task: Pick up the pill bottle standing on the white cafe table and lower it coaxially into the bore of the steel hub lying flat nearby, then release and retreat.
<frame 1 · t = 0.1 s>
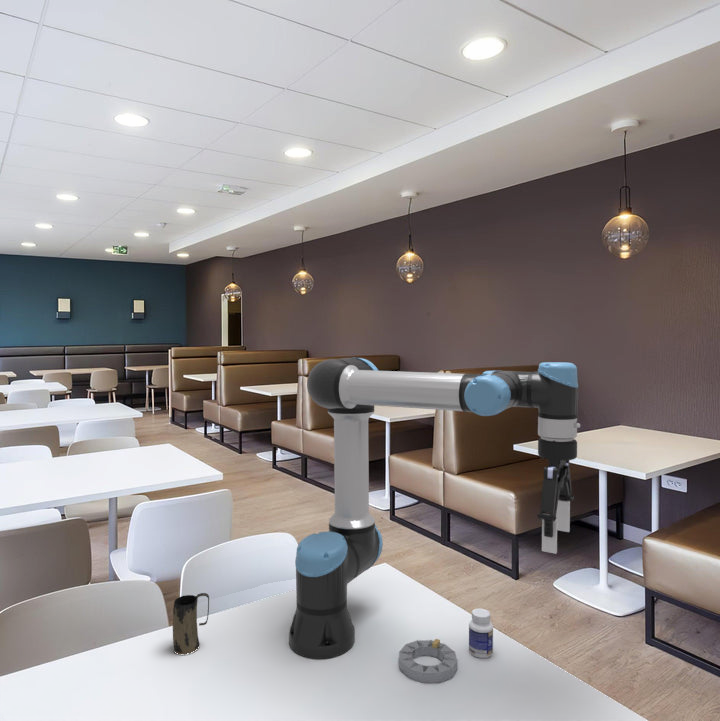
hand: (556, 540, 112), 28 cm above the table, fingers open, 13 cm apart
hub: (427, 665, 117), on the table
mug: (191, 648, 123), on the table
pill bottle: (480, 652, 121), on the table
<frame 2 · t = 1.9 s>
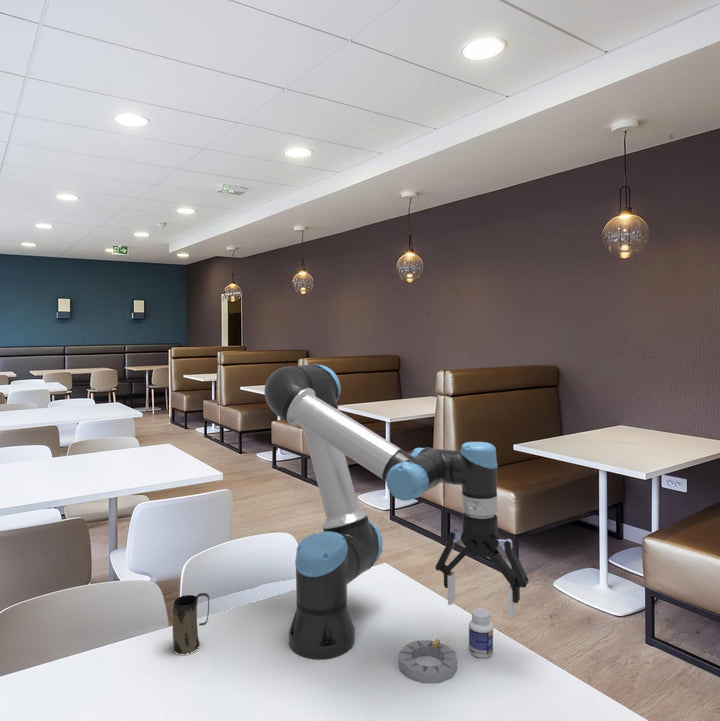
hand: (481, 609, 121), 10 cm above the table, fingers open, 13 cm apart
nothing on the table moved.
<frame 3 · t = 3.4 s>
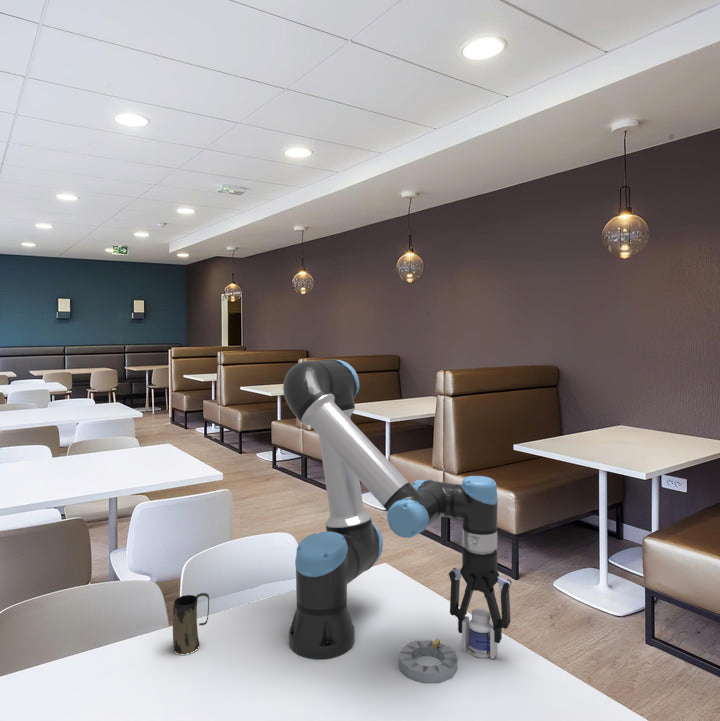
hand: (479, 651, 121), 0 cm above the table, fingers open, 6 cm apart
pill bottle: (480, 652, 121), on the table, touching gripper
everything else where it was.
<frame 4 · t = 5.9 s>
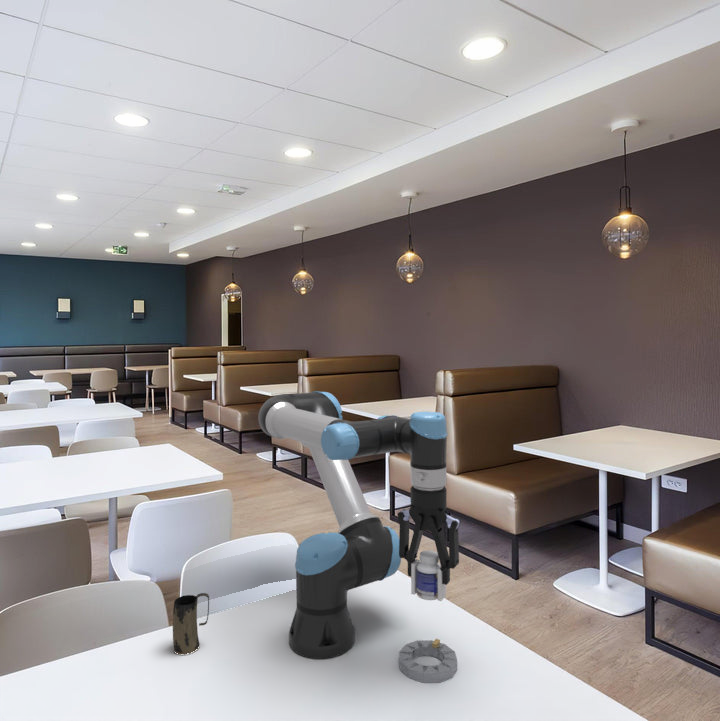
hand: (428, 594, 116), 15 cm above the table, fingers closed on pill bottle, 5 cm apart
pill bottle: (429, 596, 116), point 15 cm above the table, touching gripper
everything else where it was.
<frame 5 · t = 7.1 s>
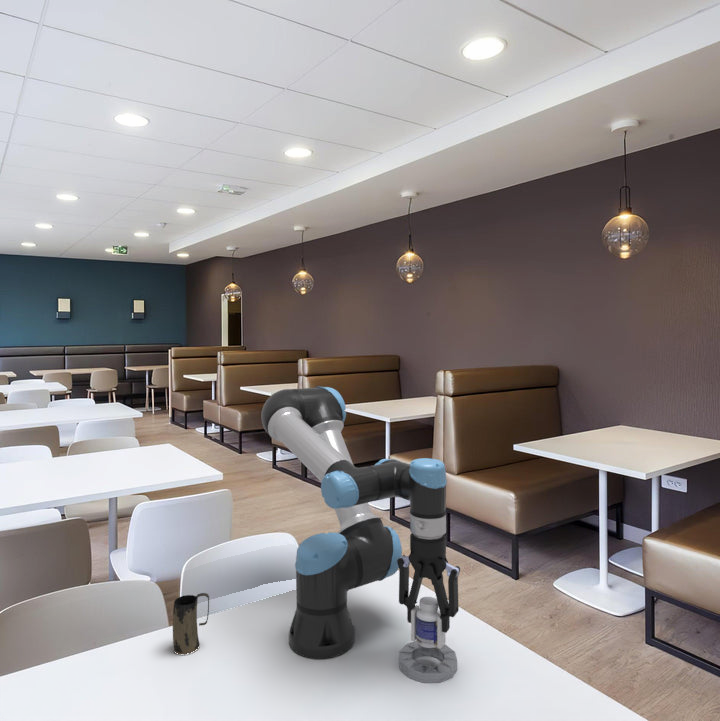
hand: (428, 641, 116), 5 cm above the table, fingers closed on pill bottle, 5 cm apart
pill bottle: (428, 642, 117), point 5 cm above the table, touching gripper
everything else where it was.
when the fingers open (3 cm above the table, at t = 7.8 s): pill bottle drops 3 cm, resting in hub.
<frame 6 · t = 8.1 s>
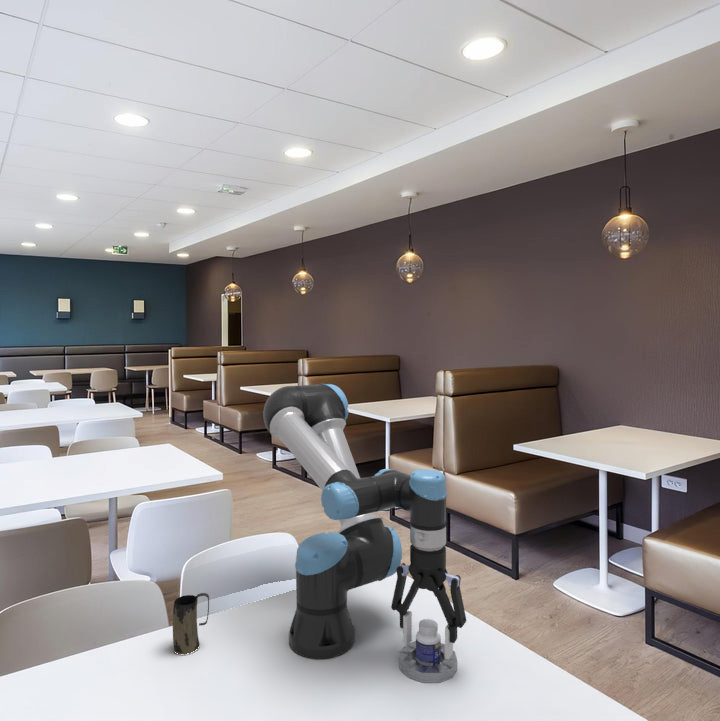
hand: (427, 649, 116), 3 cm above the table, fingers open, 9 cm apart
pill bottle: (428, 665, 117), resting in hub
everything else where it was.
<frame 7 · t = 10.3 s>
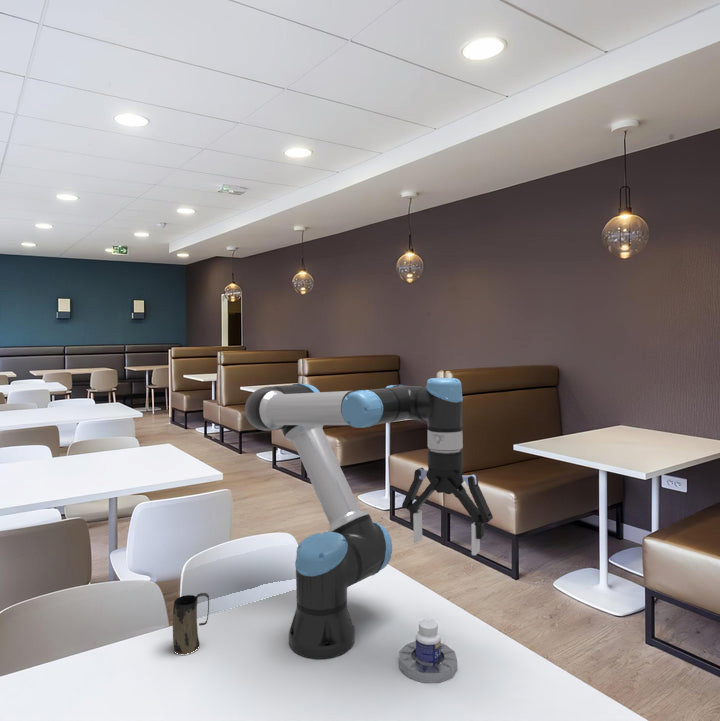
hand: (446, 547, 119), 24 cm above the table, fingers open, 13 cm apart
nothing on the table moved.
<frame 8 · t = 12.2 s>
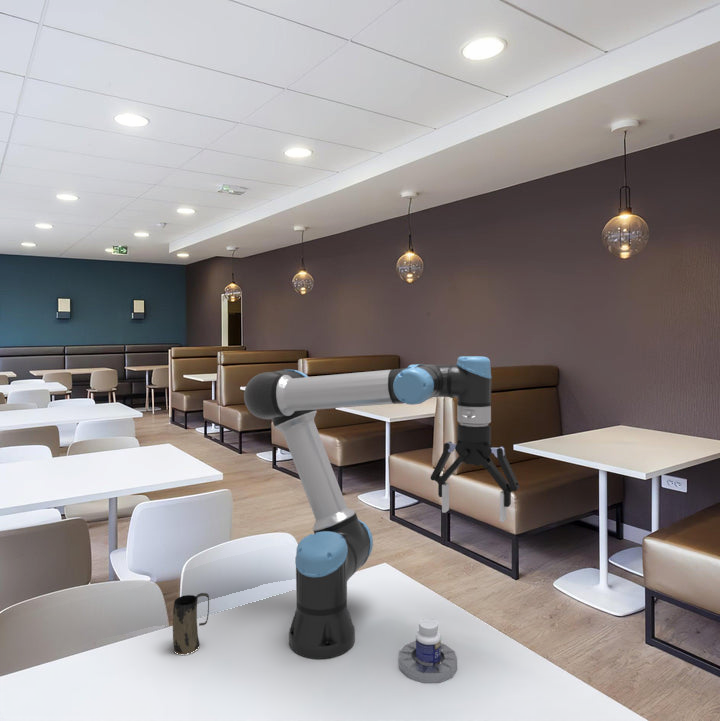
hand: (473, 515, 126), 29 cm above the table, fingers open, 13 cm apart
nothing on the table moved.
at the end: pill bottle 0.4 cm from the hub (horizontally); pill bottle resting in hub; pill bottle tilted 0° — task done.
